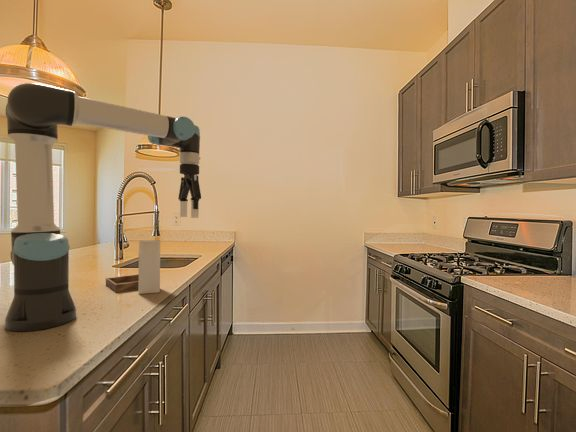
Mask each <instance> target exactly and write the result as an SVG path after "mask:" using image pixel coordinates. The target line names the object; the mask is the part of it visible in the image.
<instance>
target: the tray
mask: <svg viewBox="0 0 576 432" xmlns="http://www.w3.org/2000/svg"><path fill="white" fill-rule="evenodd" d="M138 284H139V273H138V274H132V275H131V274H130V275H123V276H121V275H120V276H114V277H105V286H106V287H107V288H109V289H110V290H111V291H112V292H114V293H121V292H127V291H133V290H138Z"/></svg>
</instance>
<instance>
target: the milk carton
mask: <svg viewBox="0 0 576 432" xmlns="http://www.w3.org/2000/svg"><path fill="white" fill-rule="evenodd" d="M138 242H139V243H138V274H139V284H138V289H137V291H138V293H137V294H139V295H143V294H144V295H145V294H157V293H160V291H161V240H160V239H159V240H157V239H155V240H139V241H138Z"/></svg>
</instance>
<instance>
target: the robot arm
mask: <svg viewBox="0 0 576 432" xmlns="http://www.w3.org/2000/svg"><path fill="white" fill-rule="evenodd" d="M7 95H8V96H7V103H6V105H5V117H6V124H7V126H6V127H7V137H8V138H9V139H10V140H12V141H13V142H14V144H15V145H14V152H15V157H14V158H15V178H16V181H15V183H16V184H15V185H16V209H17V211H16V213H17V225H16V226H15V227H14V228H13V229H11V231H10V236H11V238H10V239H11V250H10V261H11V262H12V265H13V288H14V289H13V299H12V301H11V303H10V306H9V309H8V311H7V314H6V315H5V318H4V320H5V321H4V322H5V323H4V328H5V329H6V330H7V331H11V332H31V331H39V330H45V329H51V328H53V327H59V326H61V325H64V324H67V323H69V322H71V321H73V320H74V319H75V318H76V317H77V307H76V305H75V303H74V300H73V297H72V295H71V293H70V290H69V289H70V288H69V287H70V286H69V282H70V280H69V279H70V278H69V273H70V272H69V267H70V266H69V264H70V263H69V262H70V261H69V257H70V256H69V251H70V244H69V239H68V237H67V236H66V235H63V234H61V228H60V227H58V226H57V225H56V224H55V212H54V211H55V209H54V181H53V180H54V178H53V177H54V176H53V175H54V174H53V173H54V172H53V170H54V169H53V147H52V146H53V145H55V144H56V143H57V142H58V141H59V139H58V137H59V136H58V134H59V133H58V126H59V125H61V126H69V127H74V126H75V125H77V124H80V125H84V126H92V127H97V128H103V129H109V130H113V131H120V132H125V133H132V134H137V135H144V136H147V140H148V142H149V143H150V144H152V145H157V146H164V147H169V148H170V147H171V148H176V149H179V163H180V164H179V174H180V175H183V176H182V177H181V178H180V186H179V192H178V201H179V217H180V218H185V217H187V218H188V196H189V193H190V197H191V198H190V219H191V218H192V219H194V218H195V219H198V218H199V207H200V204H199V201H200V200H201V199H202V195H201V188H200V187H201V186H200V181H199V175H200V166H199V164H200V160H201V157H200V148H201V147H200V142H201V141H200V140H201V133H200V127H199V126H198V125H195V124H194V121H193V120H192V119H190V118H189V117H187V116H177V117H173V116H168V115H163V114H159V113H155V112H152V111H151V112H150V111H145V110H141V109H137V108H133V107H127V106H124V105H119V104H114V103H110V102H107V101H106V102H105V101H101V100H97V99H92V98H88V97H83V96H79V95H78V94H77V93H76V92H75V91H73V90H70V89H64V88H60V87H56V86H53V85H48V84H47V85H46V84H42V83H37V82H25V83H20V84H18V85H16V86H15V87H13V88H12V89H11V90H10V92H9V94H7Z"/></svg>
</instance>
